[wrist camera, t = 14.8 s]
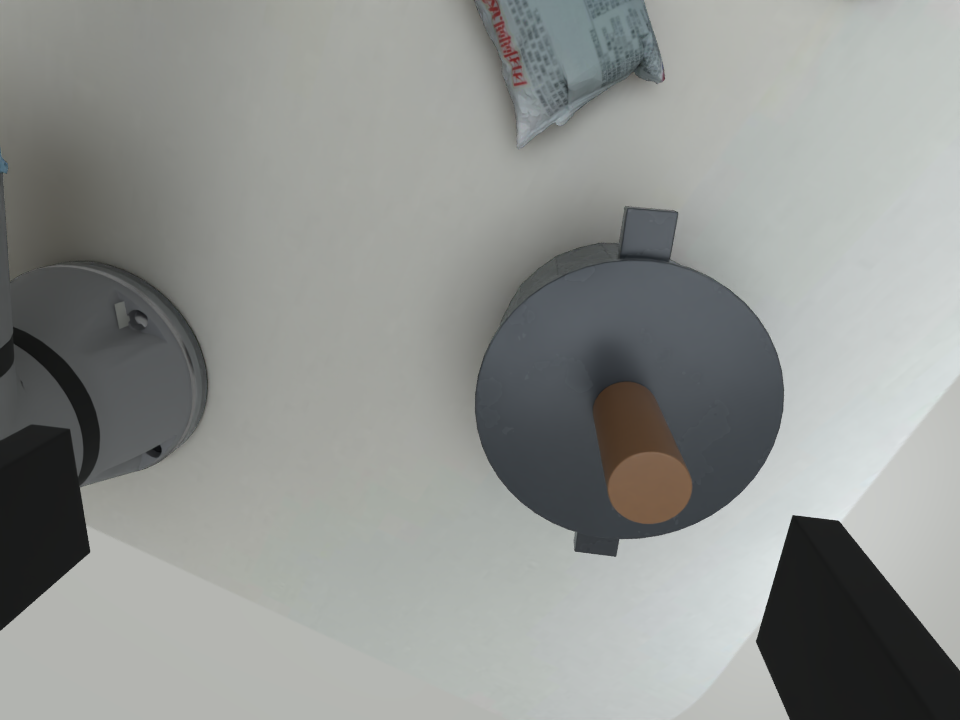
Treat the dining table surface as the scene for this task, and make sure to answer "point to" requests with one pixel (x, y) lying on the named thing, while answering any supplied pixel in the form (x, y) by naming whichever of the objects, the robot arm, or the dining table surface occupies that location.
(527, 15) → the packaged food
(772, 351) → the lid
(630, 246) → the pot
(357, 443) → the dining table surface
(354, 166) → the dining table surface
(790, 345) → the dining table surface
